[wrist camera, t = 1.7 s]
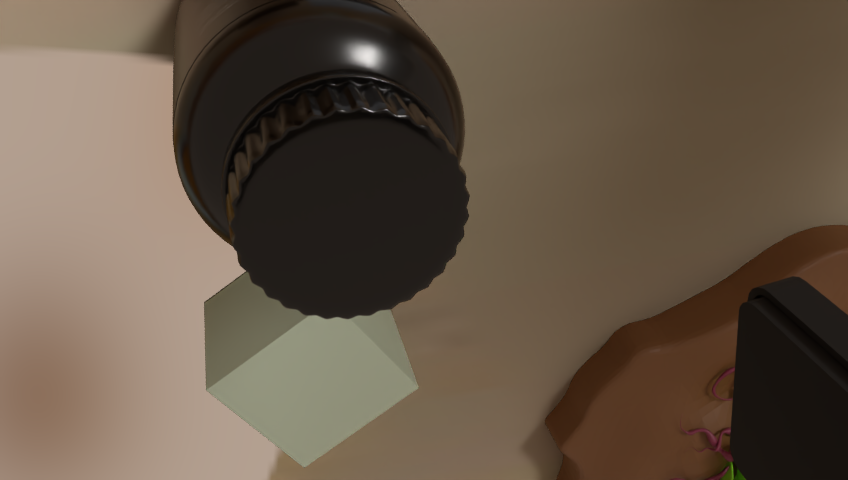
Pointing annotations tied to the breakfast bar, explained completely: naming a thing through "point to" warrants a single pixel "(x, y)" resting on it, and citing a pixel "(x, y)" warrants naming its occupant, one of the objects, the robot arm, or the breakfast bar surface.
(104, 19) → the breakfast bar surface
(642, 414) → the plant
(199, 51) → the supplement bottle
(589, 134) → the breakfast bar surface
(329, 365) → the sage cube
